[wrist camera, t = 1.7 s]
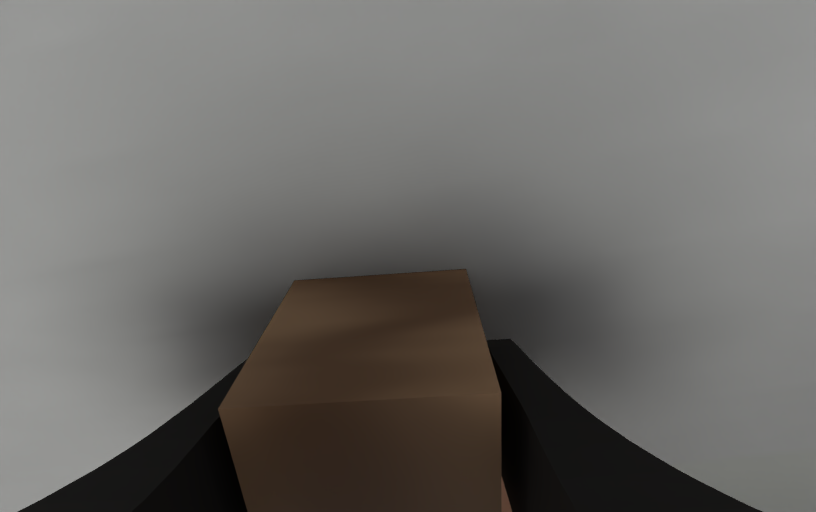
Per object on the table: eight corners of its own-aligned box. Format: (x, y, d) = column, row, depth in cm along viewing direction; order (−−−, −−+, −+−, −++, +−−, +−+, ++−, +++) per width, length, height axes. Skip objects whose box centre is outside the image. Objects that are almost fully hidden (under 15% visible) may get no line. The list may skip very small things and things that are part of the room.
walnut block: (465, 268, 12) (500, 393, 7) (470, 407, 13) (501, 584, 9) (294, 279, 12) (218, 408, 7) (320, 415, 13) (270, 593, 9)
